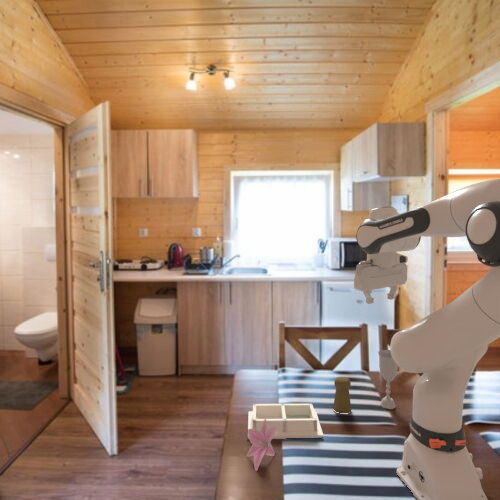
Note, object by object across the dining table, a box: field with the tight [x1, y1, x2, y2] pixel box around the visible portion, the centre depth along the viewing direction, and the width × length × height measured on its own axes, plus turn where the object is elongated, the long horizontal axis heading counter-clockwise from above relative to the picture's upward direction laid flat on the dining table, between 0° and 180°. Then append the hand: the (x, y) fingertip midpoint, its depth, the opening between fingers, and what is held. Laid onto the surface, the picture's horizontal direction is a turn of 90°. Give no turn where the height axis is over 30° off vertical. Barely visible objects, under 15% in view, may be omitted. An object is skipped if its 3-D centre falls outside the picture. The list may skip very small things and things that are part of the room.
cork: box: [332, 376, 352, 413], centre depth 131 cm, size 6×6×11 cm
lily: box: [246, 419, 278, 472], centre depth 107 cm, size 12×12×10 cm
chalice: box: [377, 349, 399, 410], centre depth 133 cm, size 7×7×18 cm
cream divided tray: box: [247, 403, 324, 440], centre depth 122 cm, size 14×22×4 cm, turn 89°
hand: (380, 301), depth 127 cm, fingers open, 8 cm apart
